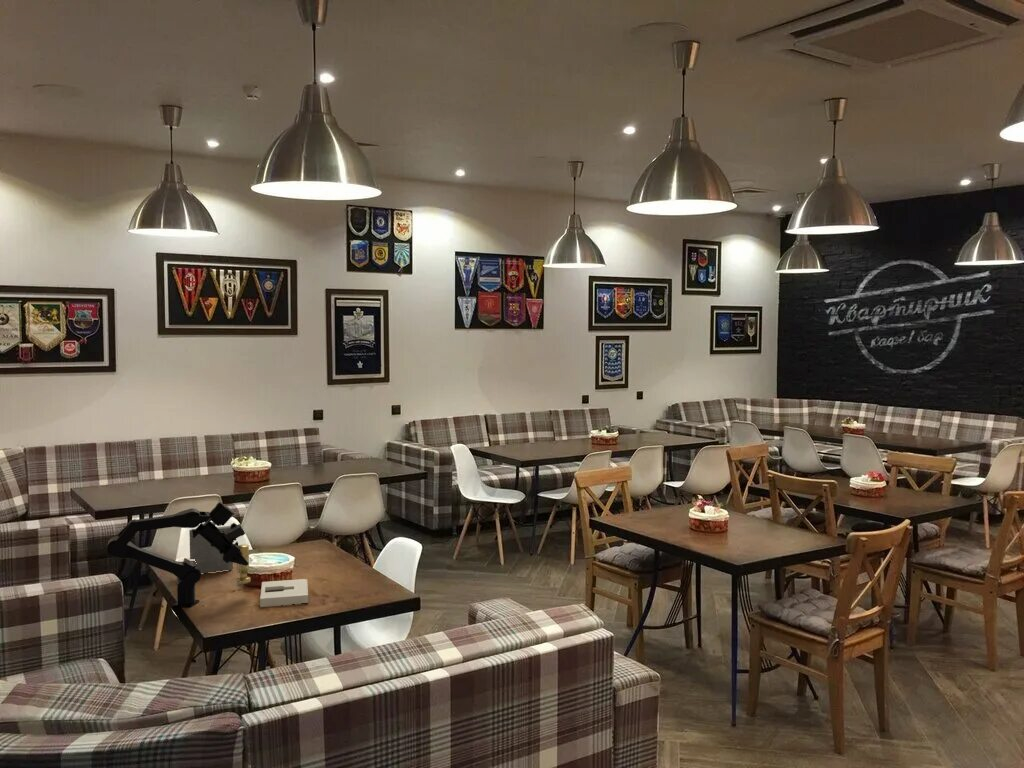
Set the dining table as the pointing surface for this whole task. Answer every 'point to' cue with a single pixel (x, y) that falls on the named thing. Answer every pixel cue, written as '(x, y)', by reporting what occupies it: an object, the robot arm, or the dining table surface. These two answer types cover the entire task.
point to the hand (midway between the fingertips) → (247, 563)
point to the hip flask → (207, 554)
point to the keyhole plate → (284, 593)
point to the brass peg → (243, 566)
